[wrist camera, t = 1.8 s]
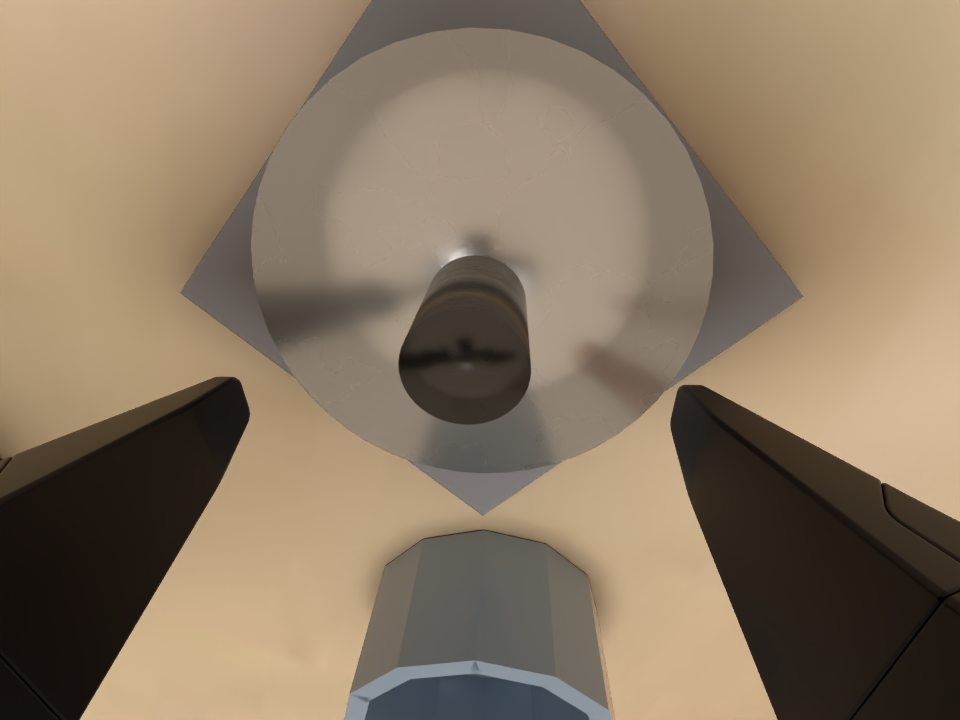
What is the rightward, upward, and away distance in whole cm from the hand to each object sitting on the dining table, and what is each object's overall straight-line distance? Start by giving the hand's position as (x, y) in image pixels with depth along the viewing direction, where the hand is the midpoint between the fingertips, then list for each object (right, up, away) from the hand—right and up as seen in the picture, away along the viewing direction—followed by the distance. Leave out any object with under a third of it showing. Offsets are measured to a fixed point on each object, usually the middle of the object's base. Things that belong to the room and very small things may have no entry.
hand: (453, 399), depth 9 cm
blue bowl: (+1, -12, +14) cm, 18 cm away
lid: (0, +3, +5) cm, 6 cm away
